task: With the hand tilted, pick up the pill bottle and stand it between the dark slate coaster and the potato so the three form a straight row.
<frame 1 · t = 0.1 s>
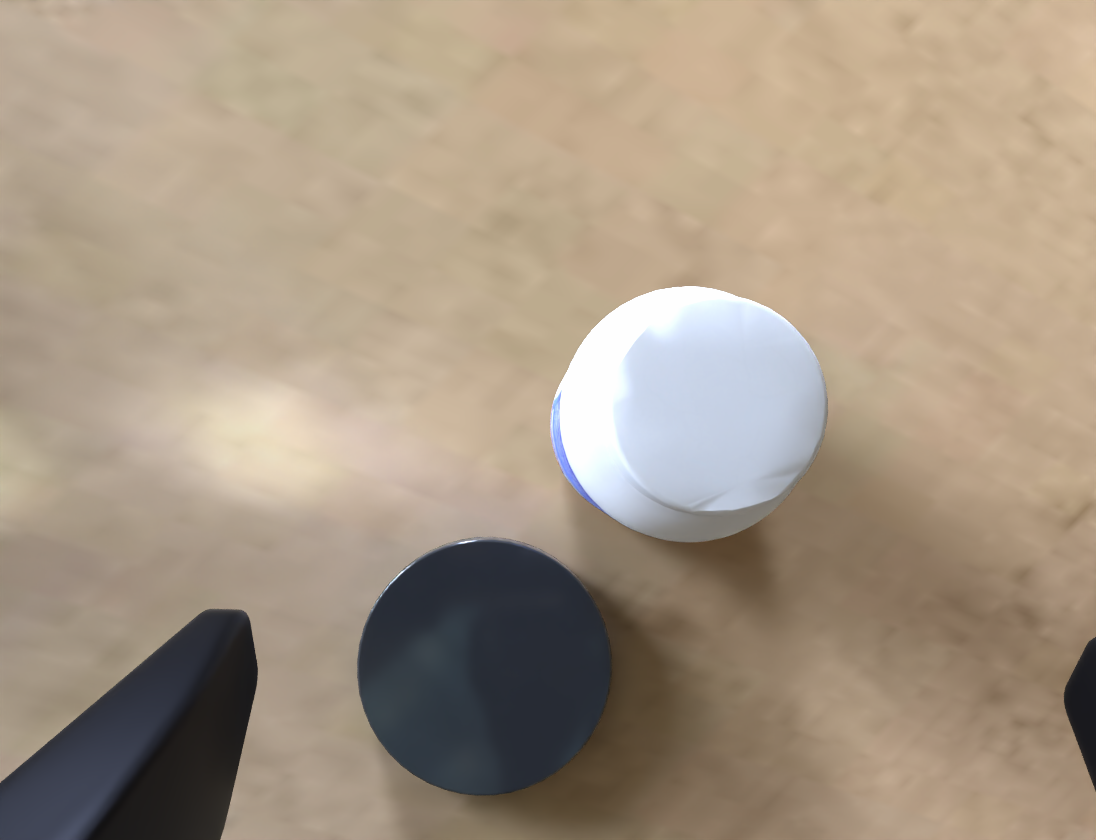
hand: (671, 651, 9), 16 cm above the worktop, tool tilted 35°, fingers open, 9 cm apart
coaster: (486, 660, 25), on the worktop
pill bottle: (641, 424, 25), on the worktop
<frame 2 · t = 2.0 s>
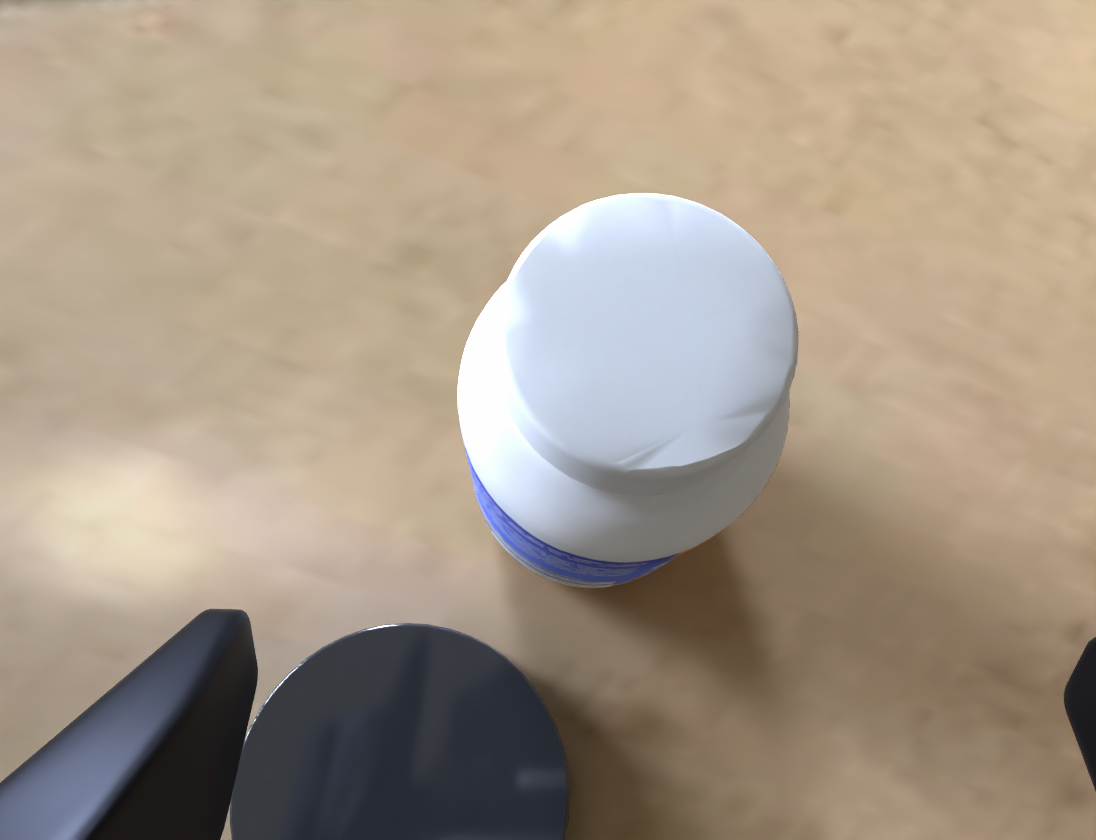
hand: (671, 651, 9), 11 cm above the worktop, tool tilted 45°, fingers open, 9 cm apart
coaster: (405, 790, 19), on the worktop
pill bottle: (587, 474, 21), on the worktop
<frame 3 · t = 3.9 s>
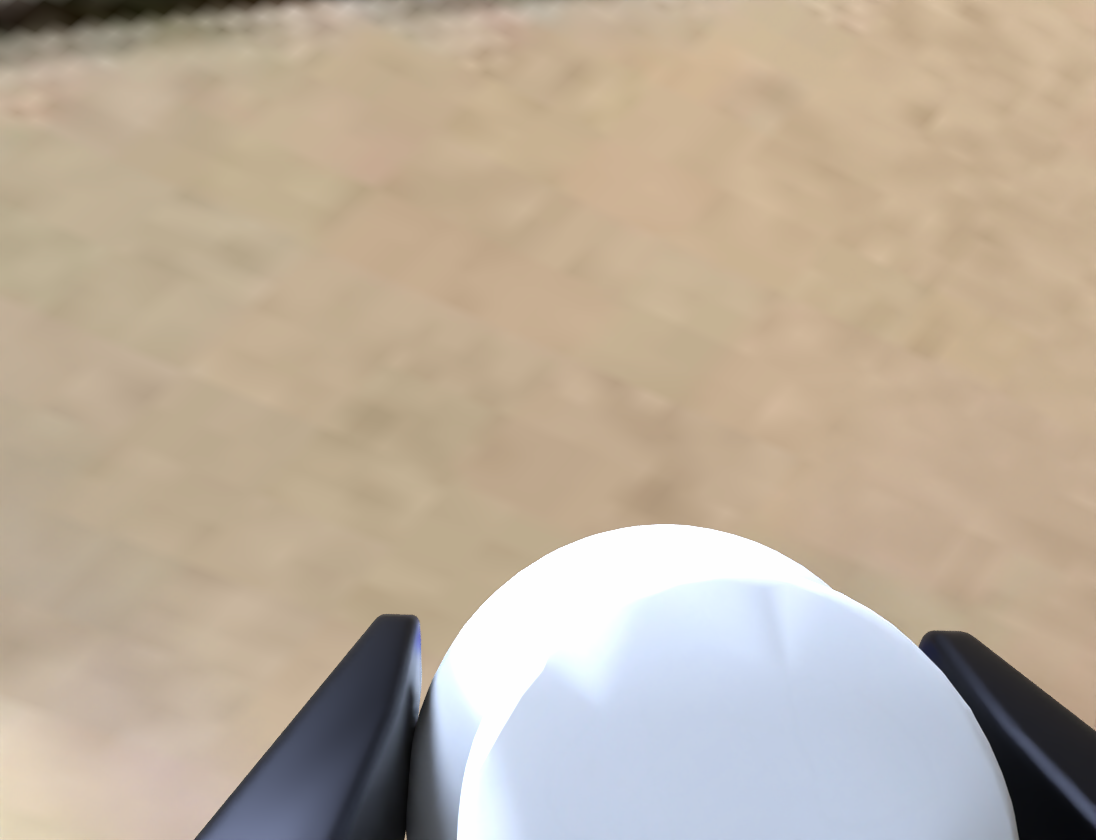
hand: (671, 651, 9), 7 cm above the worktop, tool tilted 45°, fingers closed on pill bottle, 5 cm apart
pill bottle: (602, 724, 16), on the worktop, touching gripper
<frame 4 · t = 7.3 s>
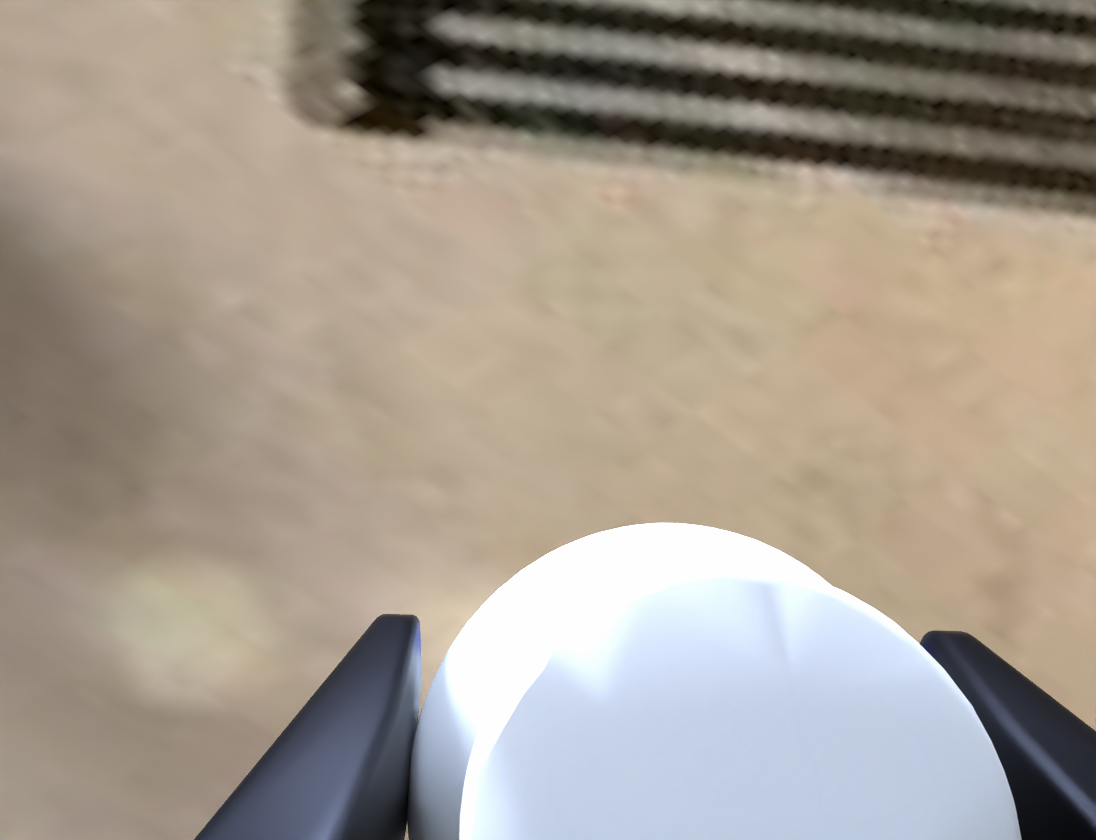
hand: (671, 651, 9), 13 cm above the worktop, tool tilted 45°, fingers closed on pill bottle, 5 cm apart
pill bottle: (603, 723, 16), point 6 cm above the worktop, touching gripper
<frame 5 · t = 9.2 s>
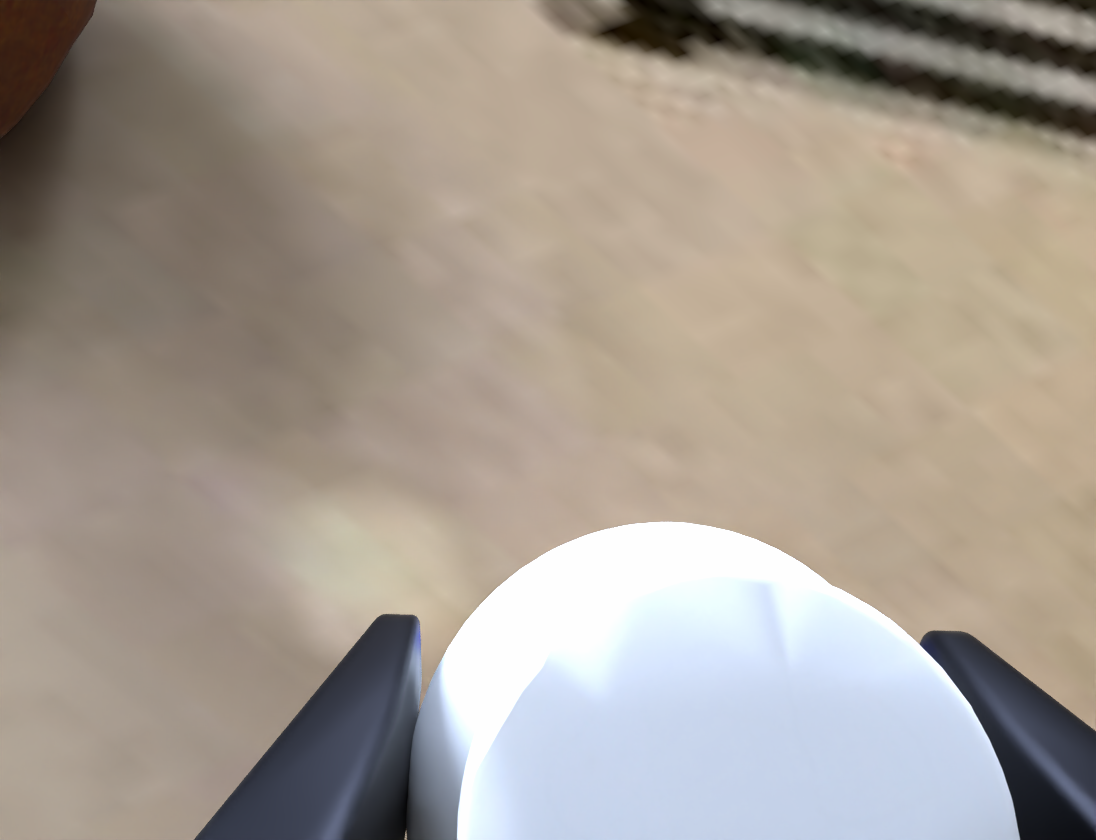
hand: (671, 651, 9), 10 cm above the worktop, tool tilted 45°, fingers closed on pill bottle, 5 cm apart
pill bottle: (602, 723, 16), point 3 cm above the worktop, touching gripper
when the fingers open (7 cm above the worktop, at t = 10.6 s): pill bottle stays where it is, on the worktop.
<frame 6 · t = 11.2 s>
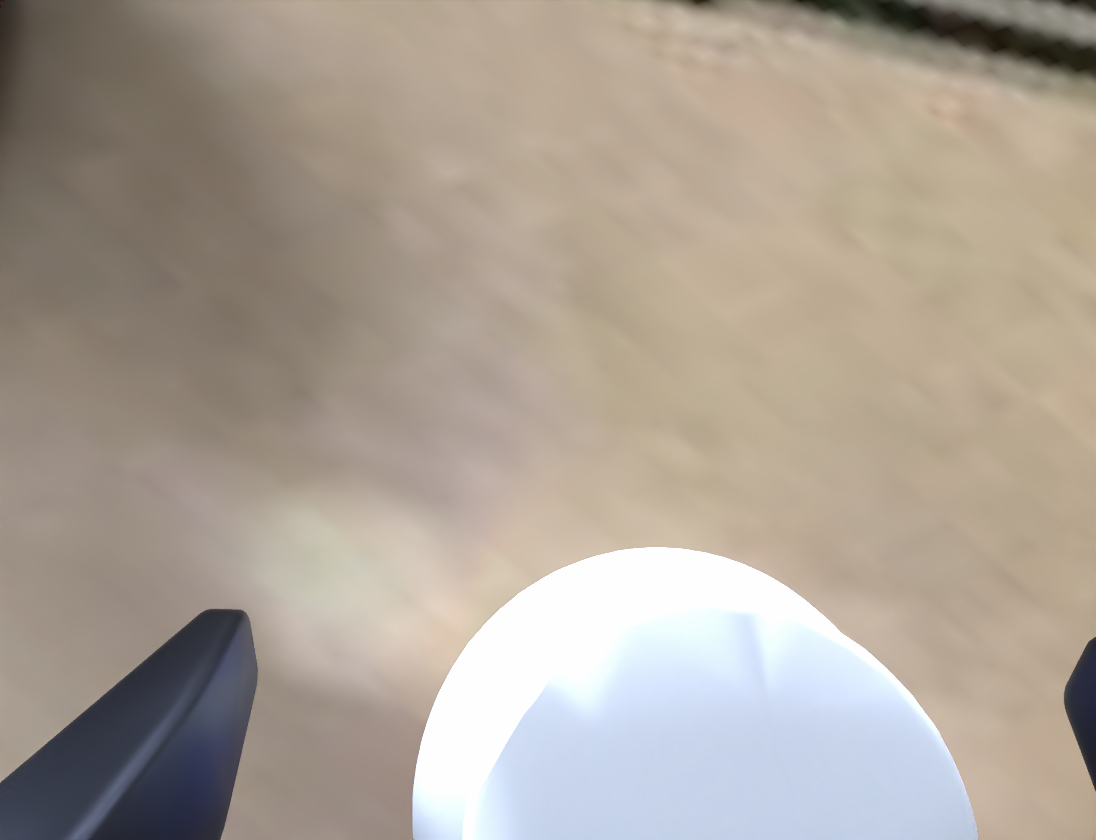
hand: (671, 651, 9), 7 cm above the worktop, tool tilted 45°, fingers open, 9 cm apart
pill bottle: (600, 732, 16), on the worktop
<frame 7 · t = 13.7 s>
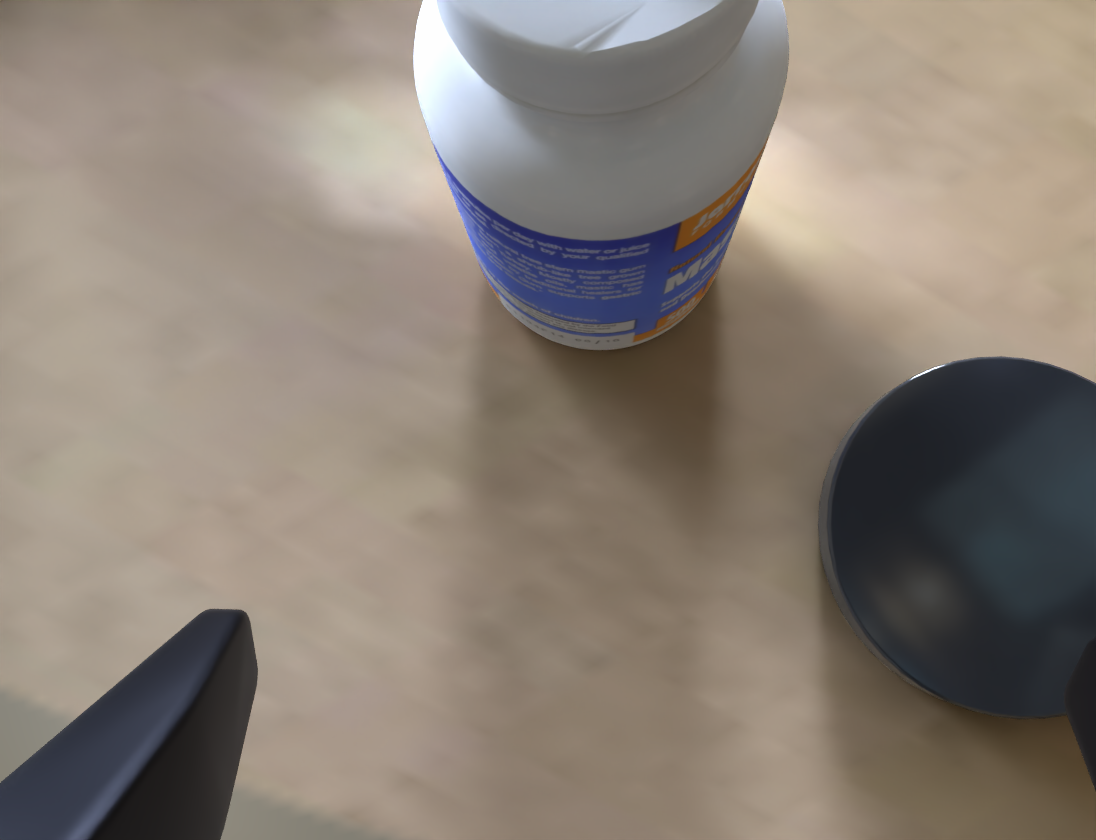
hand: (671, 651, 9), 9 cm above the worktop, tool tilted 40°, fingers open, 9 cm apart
coaster: (992, 533, 18), on the worktop
pill bottle: (599, 238, 19), on the worktop
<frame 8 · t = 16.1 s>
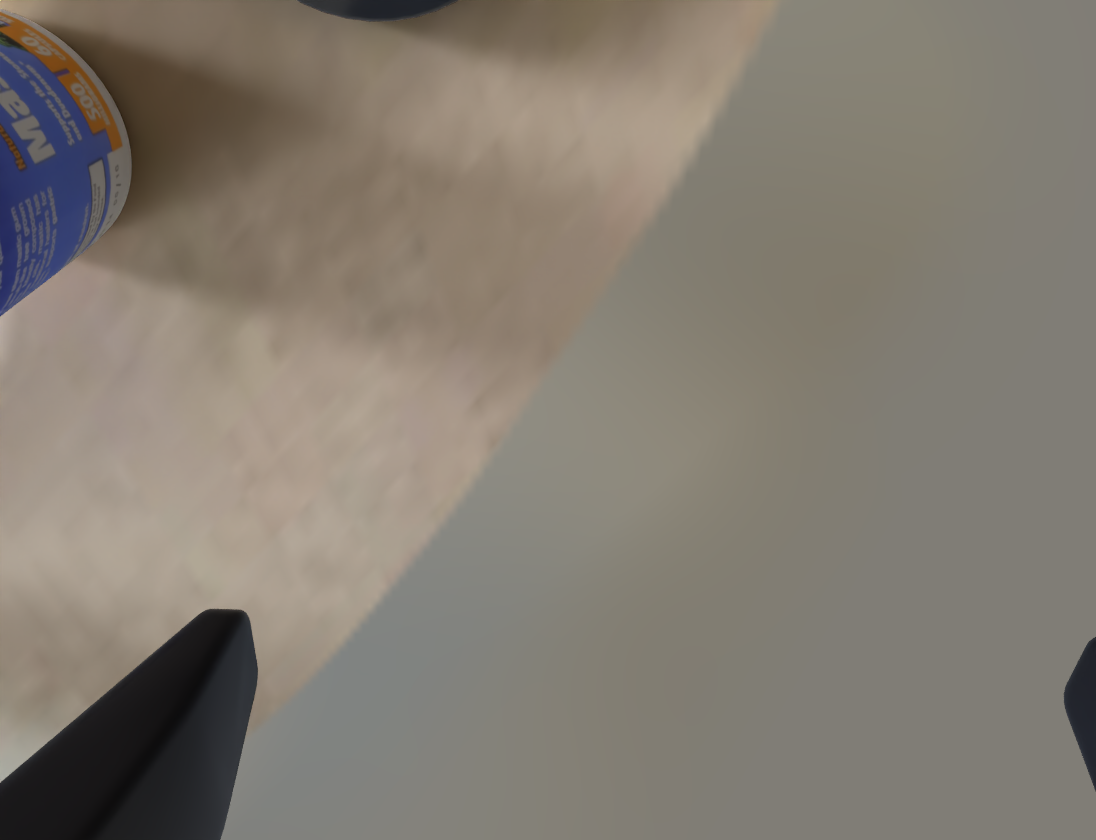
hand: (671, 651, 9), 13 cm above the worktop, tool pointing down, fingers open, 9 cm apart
pill bottle: (15, 132, 19), on the worktop
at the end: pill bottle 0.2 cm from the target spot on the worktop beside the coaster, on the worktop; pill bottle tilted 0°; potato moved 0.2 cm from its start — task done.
